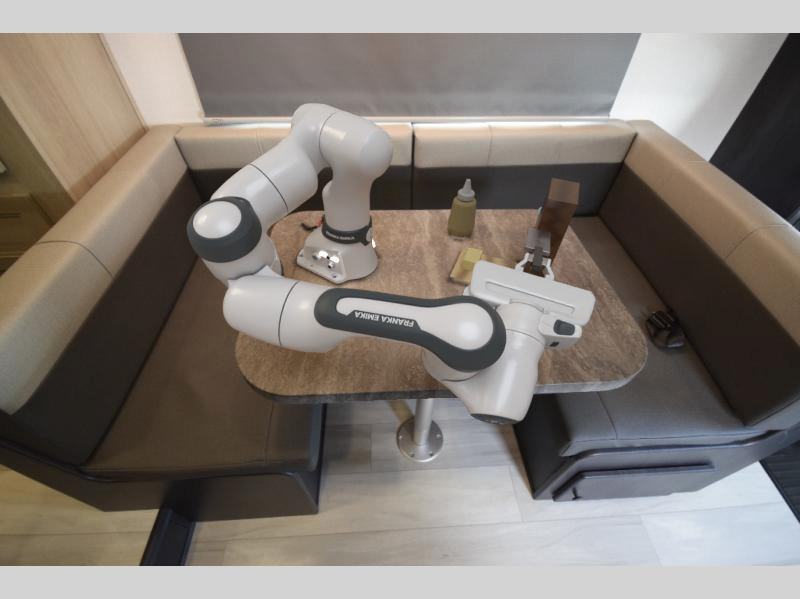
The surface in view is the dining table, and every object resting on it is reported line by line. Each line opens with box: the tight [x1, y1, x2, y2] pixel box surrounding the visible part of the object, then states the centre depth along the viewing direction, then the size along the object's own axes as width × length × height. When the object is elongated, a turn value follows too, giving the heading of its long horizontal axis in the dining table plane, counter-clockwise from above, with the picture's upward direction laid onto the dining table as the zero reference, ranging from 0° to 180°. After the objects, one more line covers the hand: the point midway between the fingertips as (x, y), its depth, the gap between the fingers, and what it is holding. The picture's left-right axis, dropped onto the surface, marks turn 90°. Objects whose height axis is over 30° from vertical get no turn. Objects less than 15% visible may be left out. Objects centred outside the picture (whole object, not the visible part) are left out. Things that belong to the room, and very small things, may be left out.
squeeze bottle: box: [447, 178, 477, 238], centre depth 102 cm, size 8×8×18 cm
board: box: [449, 248, 519, 283], centre depth 95 cm, size 16×13×2 cm
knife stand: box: [523, 177, 581, 278], centre depth 85 cm, size 8×12×26 cm, turn 158°
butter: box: [462, 246, 484, 271], centre depth 95 cm, size 4×6×3 cm, turn 158°
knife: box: [524, 226, 550, 274], centre depth 67 cm, size 4×18×2 cm, turn 159°
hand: (537, 257), depth 62 cm, fingers closed on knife, 1 cm apart
